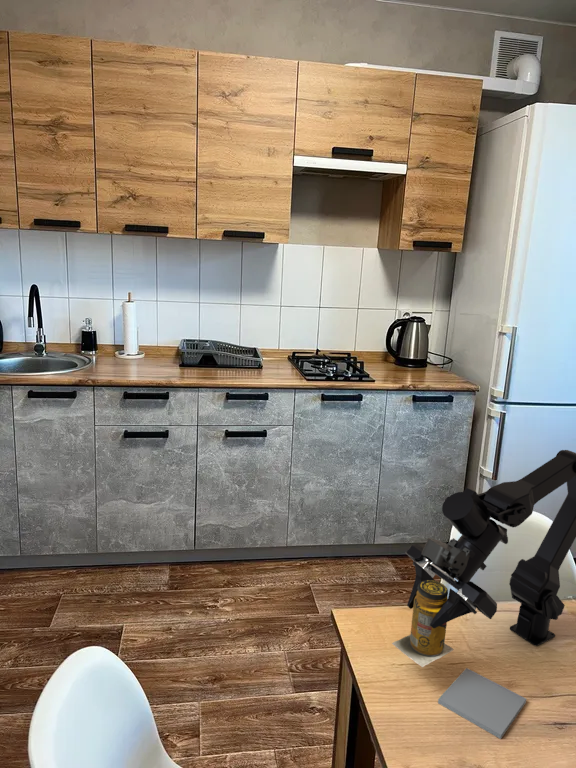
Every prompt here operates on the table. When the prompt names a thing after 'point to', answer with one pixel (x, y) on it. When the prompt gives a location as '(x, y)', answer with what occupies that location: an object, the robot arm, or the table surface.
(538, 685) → the table surface
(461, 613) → the robot arm
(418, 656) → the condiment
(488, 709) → the coaster board
